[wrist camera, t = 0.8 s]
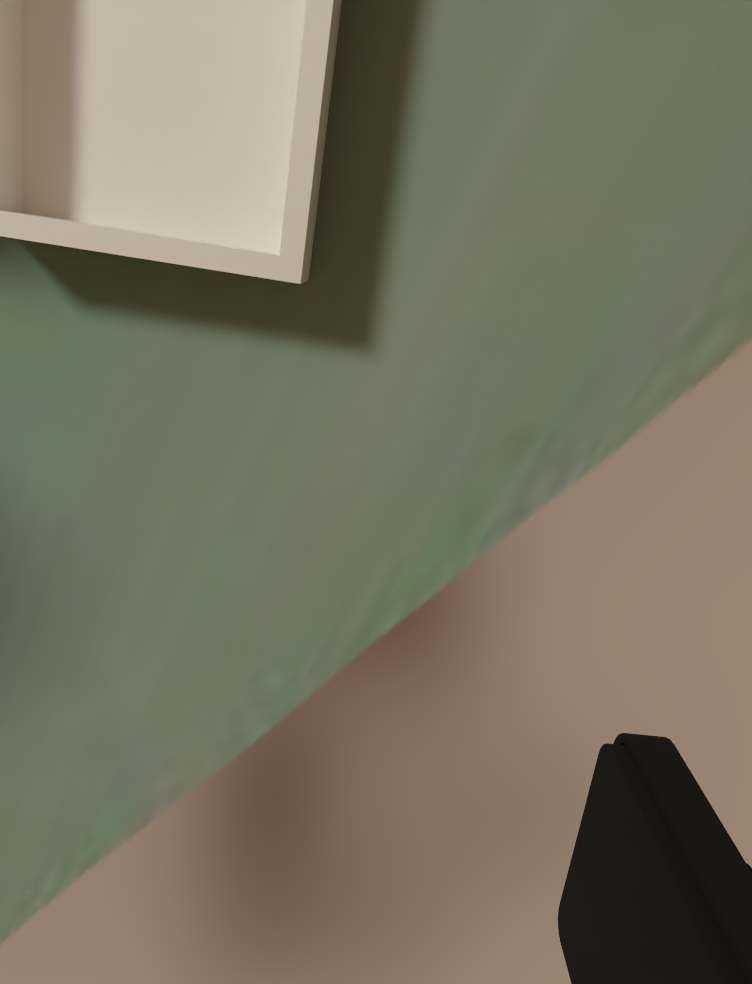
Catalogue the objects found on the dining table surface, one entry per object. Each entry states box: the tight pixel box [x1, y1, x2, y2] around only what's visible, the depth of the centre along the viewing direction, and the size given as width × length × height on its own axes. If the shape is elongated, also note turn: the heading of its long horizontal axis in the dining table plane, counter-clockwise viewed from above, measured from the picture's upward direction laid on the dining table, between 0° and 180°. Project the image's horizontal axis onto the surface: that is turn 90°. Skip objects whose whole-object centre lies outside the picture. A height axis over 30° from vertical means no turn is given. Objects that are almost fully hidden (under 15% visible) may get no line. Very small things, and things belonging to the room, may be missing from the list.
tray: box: [0, 0, 342, 284], centre depth 29 cm, size 18×14×4 cm
